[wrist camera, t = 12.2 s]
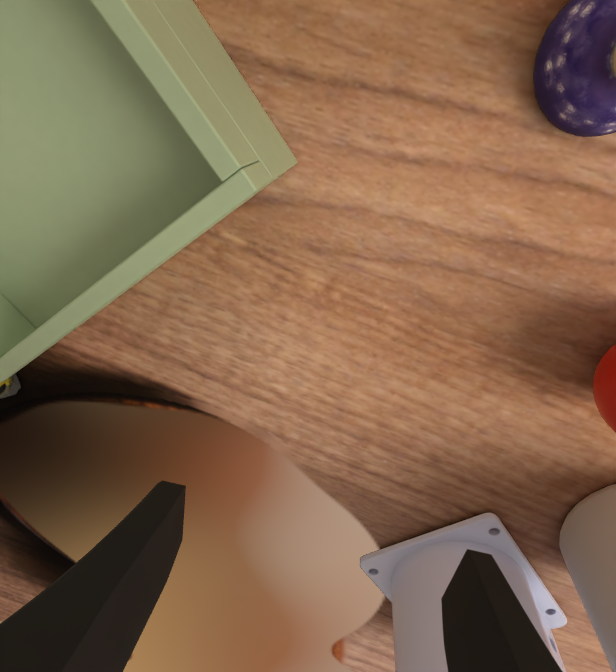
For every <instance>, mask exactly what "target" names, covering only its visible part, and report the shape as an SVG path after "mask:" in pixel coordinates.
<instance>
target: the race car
mask: <svg viewBox="0 0 616 672" xmlns="http://www.w3.org/2000/svg"><path fill="white" fill-rule="evenodd" d="M20 388H21V386H20V383H19V380H18V378H17V375H16V374H13V375H12V376H11V377H9V378H8V379H7V380H5V381H4V382H0V399H1V398H4V397H8V396H11V395H14V394H16V393H17V391H18V389H20Z"/></svg>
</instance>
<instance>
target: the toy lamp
mask: <svg viewBox="0 0 616 672" xmlns="http://www.w3.org/2000/svg"><path fill="white" fill-rule="evenodd" d="M534 85H535V94H536V98H537V101H538V104H539V105H540V108H541V110H542V111H543V113H544V114H545V116H546V117H547V118H548V120H549V121H550V122H551V123H552V124H554V125H555V126H556V127H557V128H559V129H561V130H563V131H565V132H567V133H570V134H574V135H576V136H582V137H592V136H601V135H606V134H611V133H614V132H616V0H571V1H570V2H569V3H568V4H567V5H566V6H565V7H564V8H563V9H562V10H561V11H560V12H559V13H558V15H557V17H556V18H555V19H554V20H553V21H552V23H551V24H550V26H549V27H548V29H547V31H546V32H545V34H544V37H543V39H542V42H541V44H540V46H539V49H538V53H537V56H536V62H535V67H534Z"/></svg>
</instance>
